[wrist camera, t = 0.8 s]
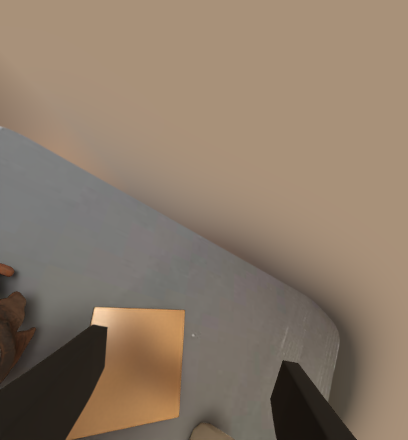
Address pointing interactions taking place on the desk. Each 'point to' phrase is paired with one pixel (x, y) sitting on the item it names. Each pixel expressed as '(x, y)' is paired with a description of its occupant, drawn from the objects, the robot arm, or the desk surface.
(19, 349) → the broken clay pot
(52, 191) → the desk surface
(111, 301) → the desk surface
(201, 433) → the milkshake
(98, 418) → the coaster
